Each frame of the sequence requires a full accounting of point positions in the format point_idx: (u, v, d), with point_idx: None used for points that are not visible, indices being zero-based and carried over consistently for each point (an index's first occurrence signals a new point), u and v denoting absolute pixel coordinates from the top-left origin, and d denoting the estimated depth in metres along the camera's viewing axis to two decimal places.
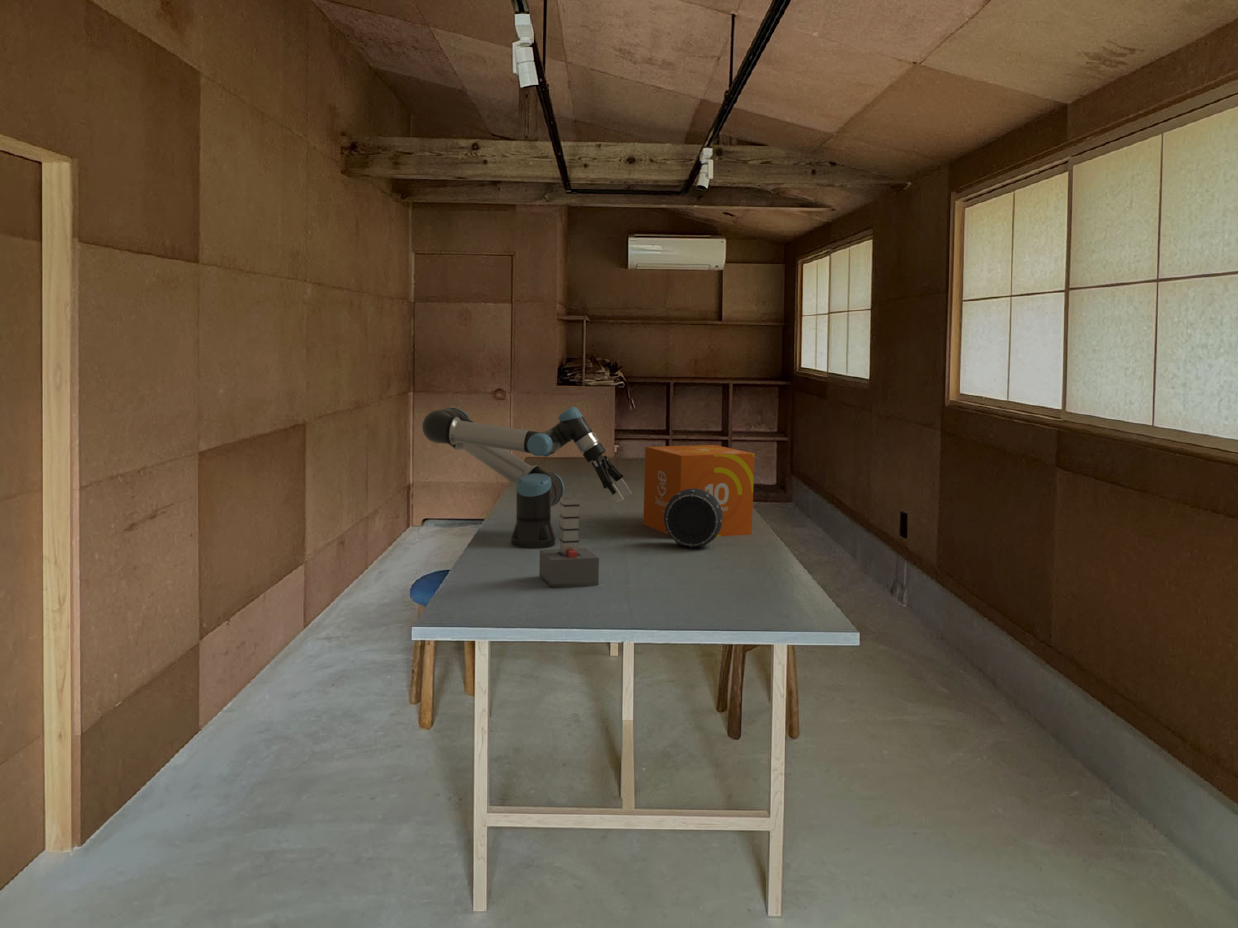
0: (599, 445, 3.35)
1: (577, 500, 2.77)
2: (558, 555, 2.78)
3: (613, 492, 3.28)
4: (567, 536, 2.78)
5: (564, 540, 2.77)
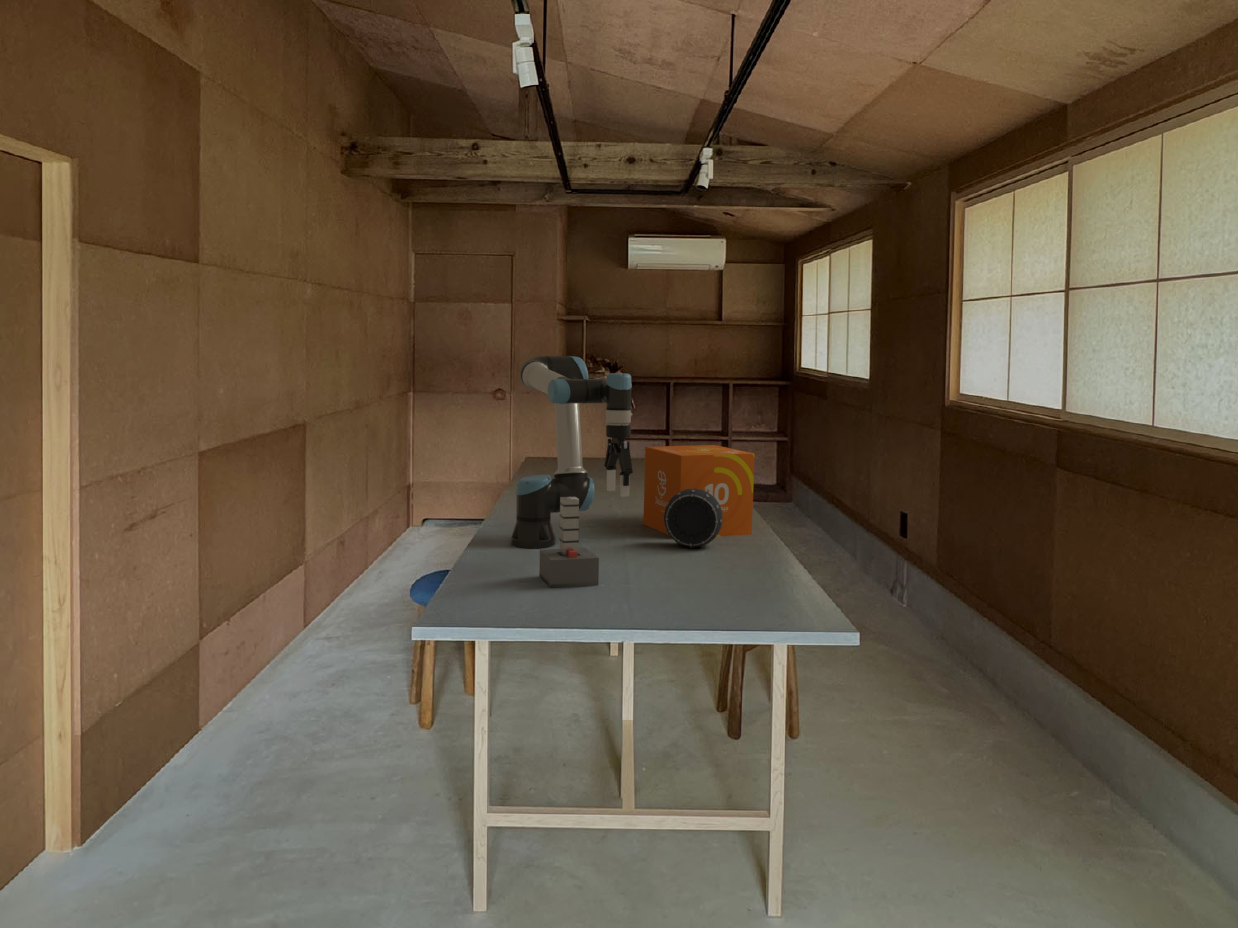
0: (630, 428, 2.94)
1: (577, 500, 2.77)
2: (558, 555, 2.78)
3: (626, 484, 2.88)
4: (567, 536, 2.78)
5: (564, 540, 2.77)
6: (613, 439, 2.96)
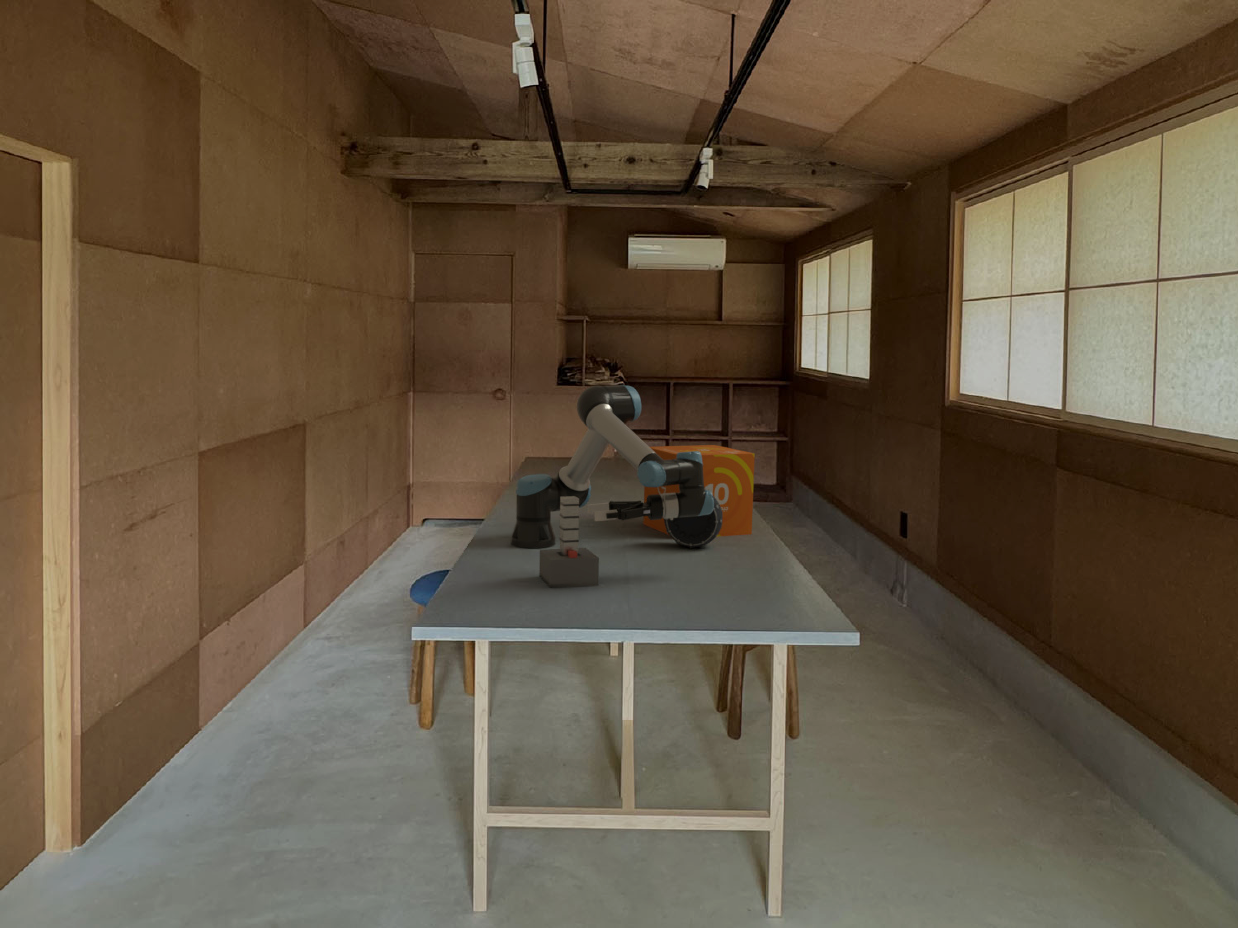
0: (659, 518, 2.86)
1: (577, 500, 2.77)
2: (558, 555, 2.78)
3: (608, 516, 2.77)
4: (567, 536, 2.77)
5: (564, 540, 2.77)
6: (644, 503, 2.88)
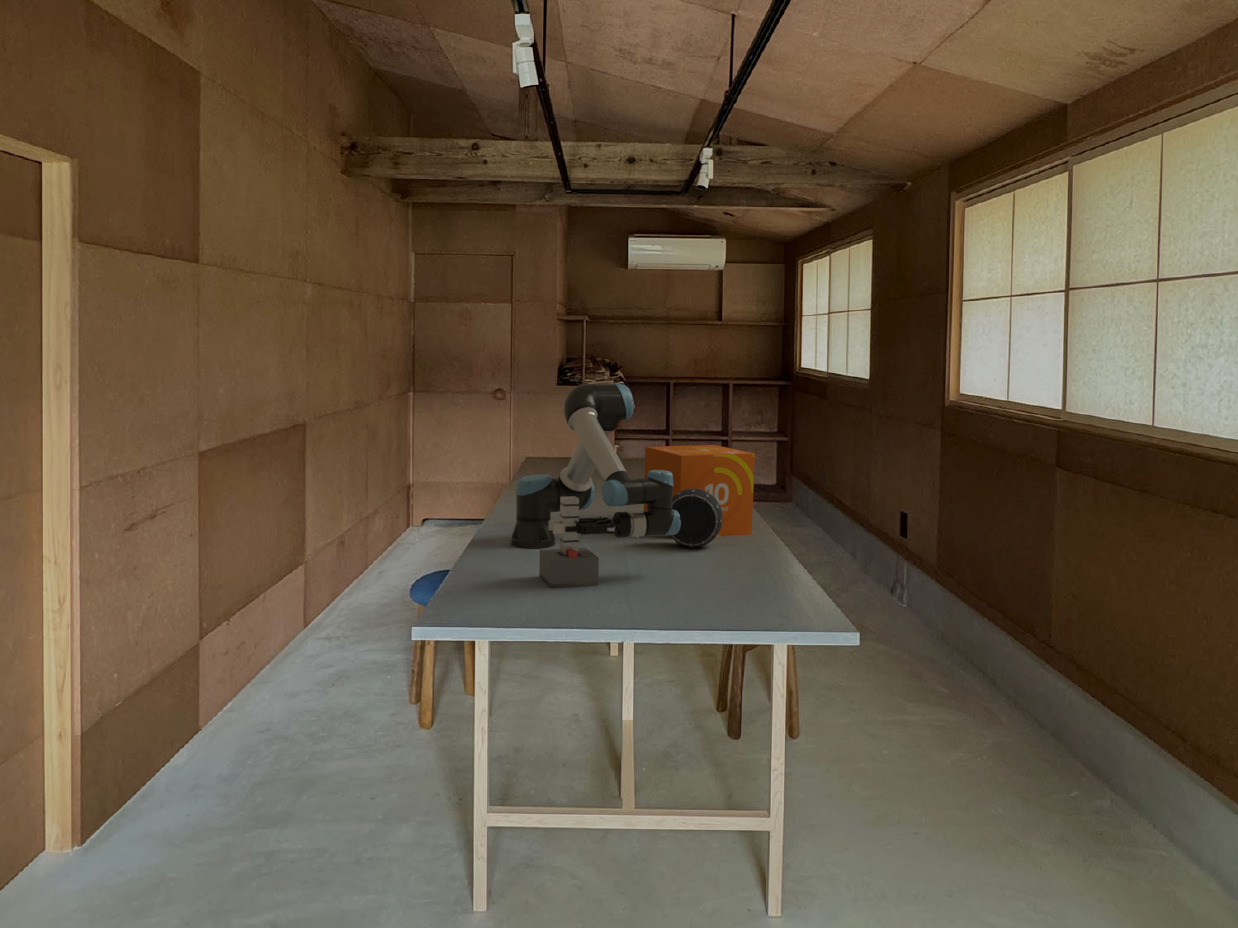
0: (626, 536, 2.84)
1: (577, 500, 2.77)
2: (558, 555, 2.78)
3: (567, 529, 2.75)
4: (567, 536, 2.78)
5: (564, 540, 2.77)
6: (611, 520, 2.85)
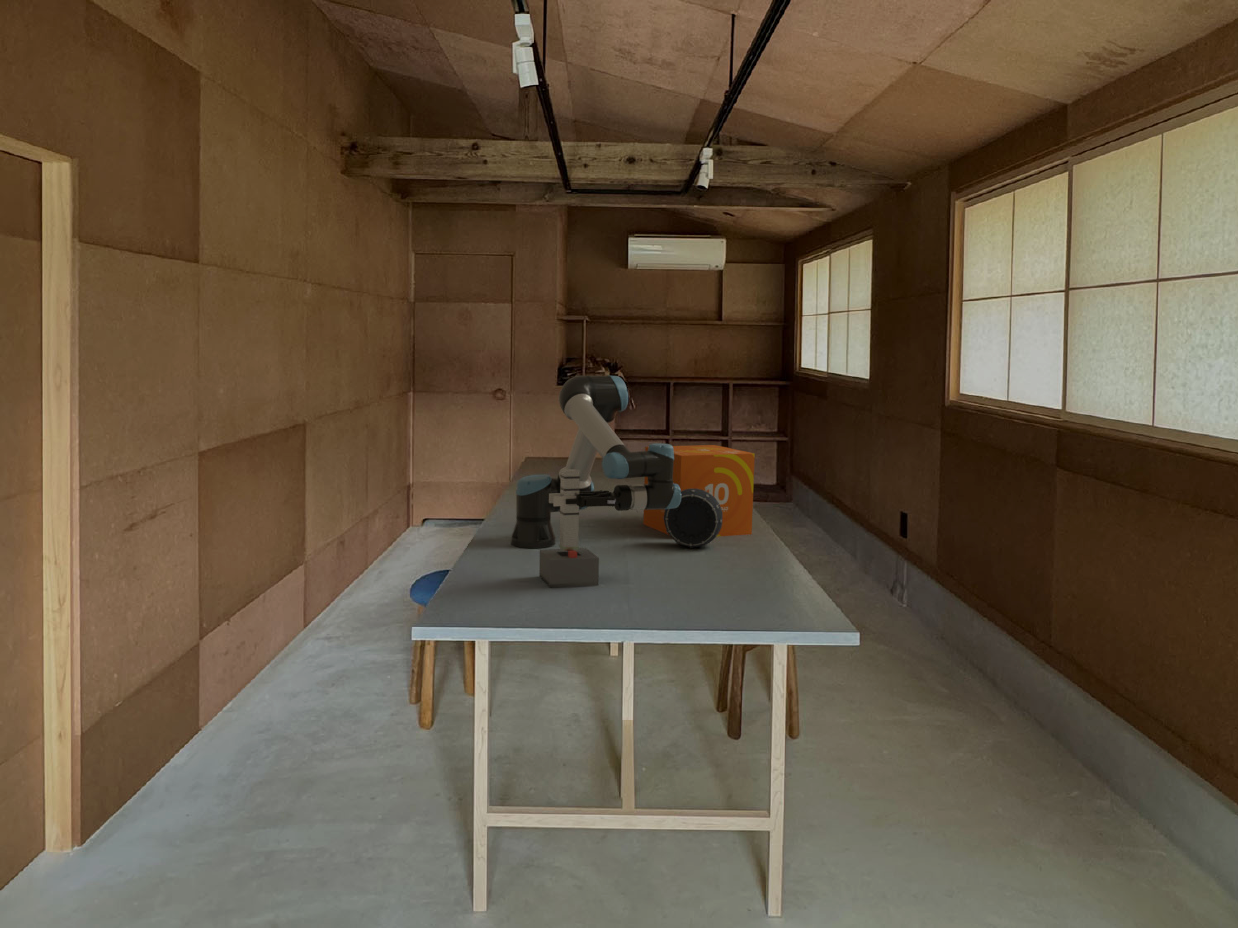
0: (626, 509, 2.83)
1: (577, 472, 2.76)
2: (558, 555, 2.78)
3: (568, 502, 2.74)
4: (567, 508, 2.77)
5: (564, 512, 2.76)
6: (612, 493, 2.84)
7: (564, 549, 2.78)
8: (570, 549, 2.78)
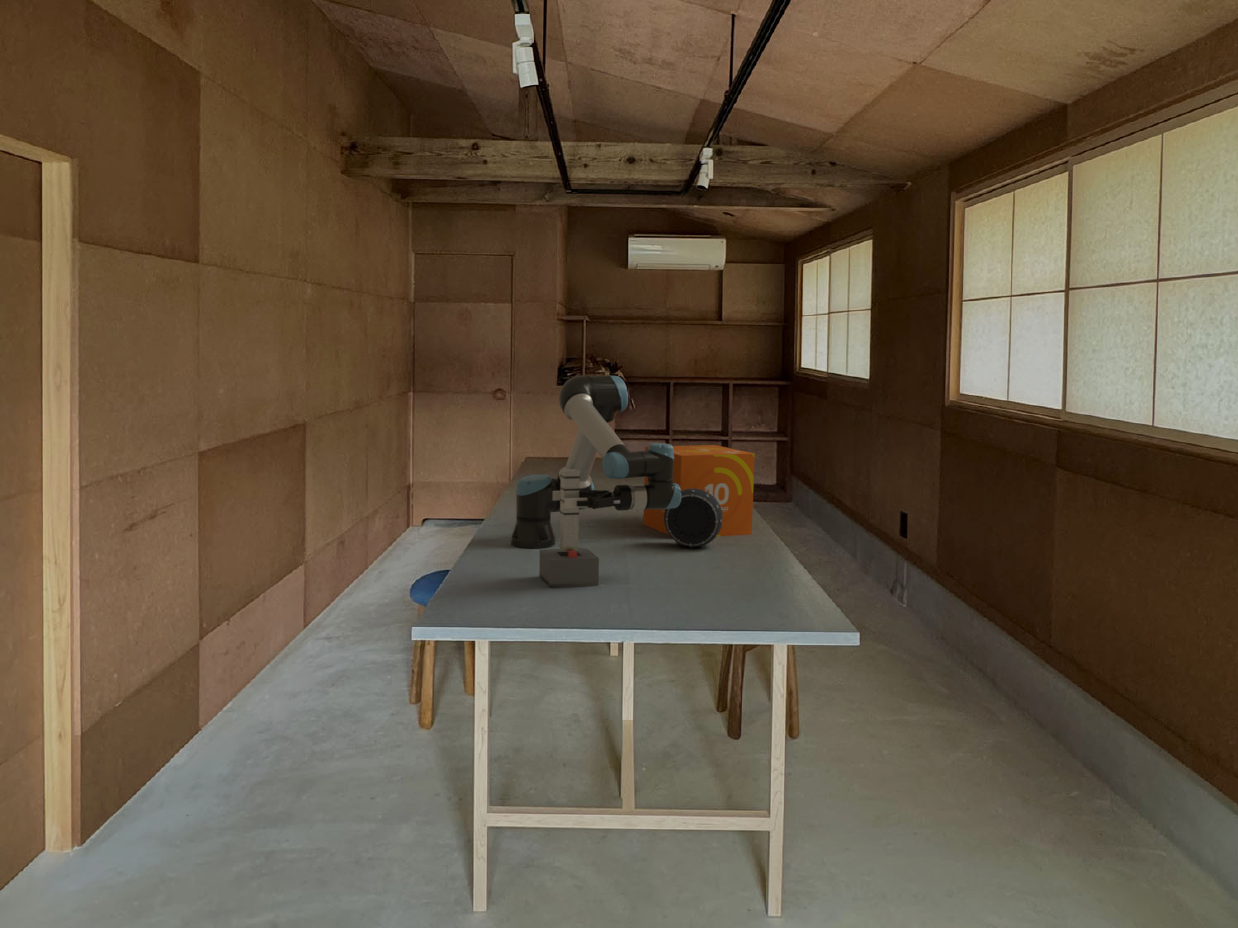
0: (626, 509, 2.83)
1: (577, 472, 2.76)
2: (558, 555, 2.78)
3: (579, 504, 2.71)
4: (567, 508, 2.77)
5: (564, 512, 2.76)
6: (612, 493, 2.84)
7: (564, 549, 2.78)
8: (570, 549, 2.78)
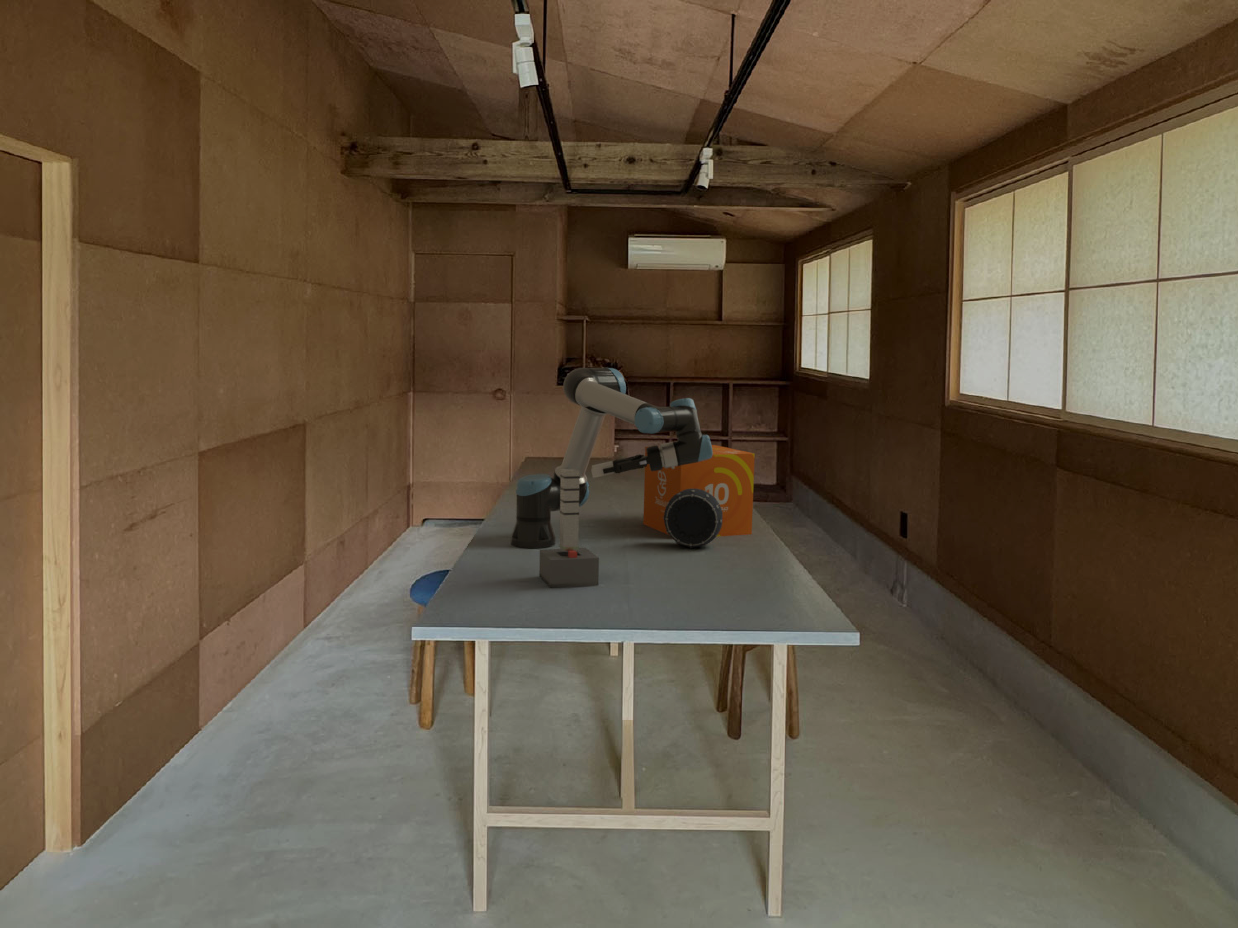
0: (659, 469, 2.91)
1: (577, 472, 2.76)
2: (558, 555, 2.78)
3: (604, 471, 2.84)
4: (567, 508, 2.77)
5: (564, 512, 2.76)
6: (644, 456, 2.94)
7: (564, 549, 2.78)
8: (570, 549, 2.78)
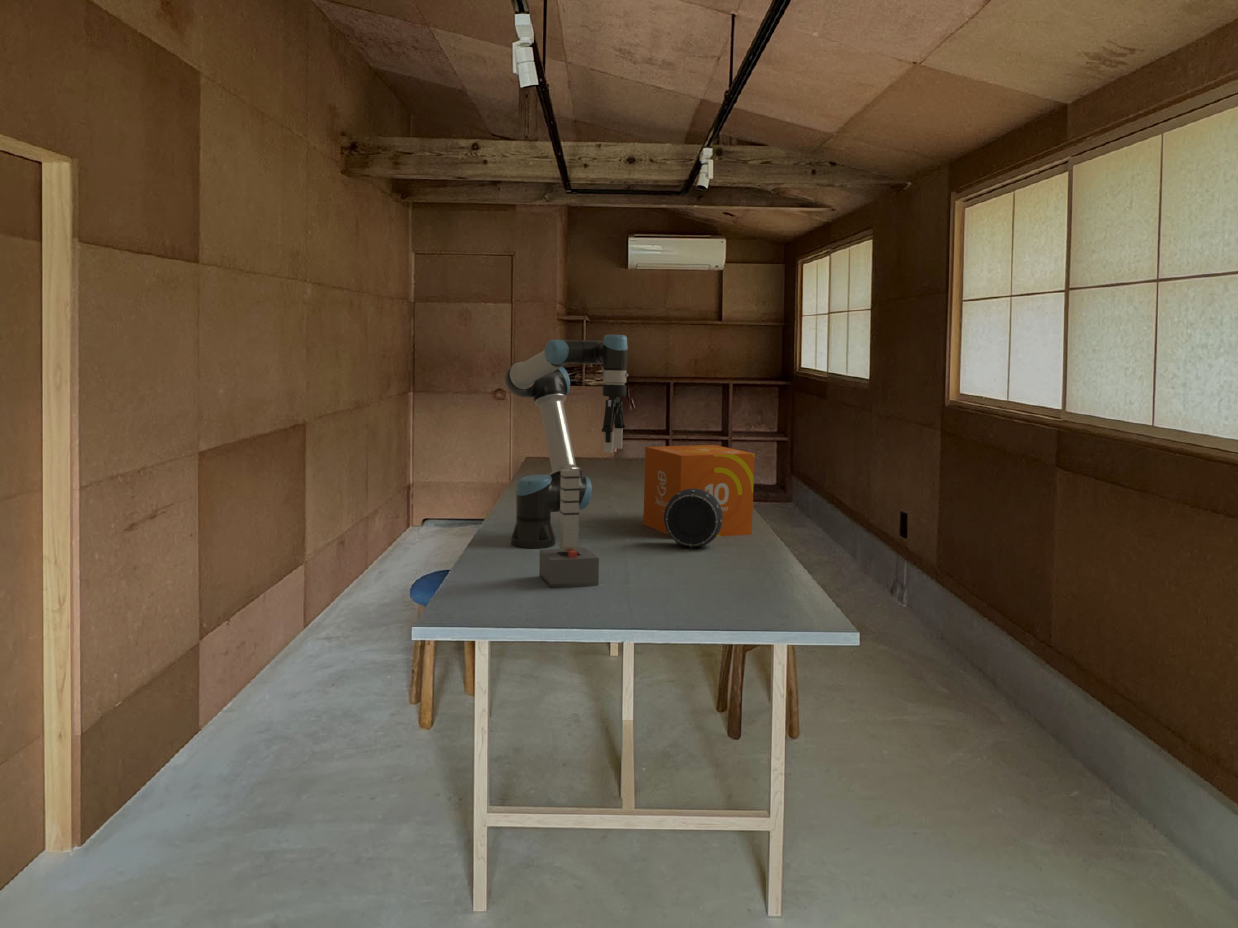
0: (624, 388, 3.05)
1: (577, 472, 2.76)
2: (558, 555, 2.78)
3: (608, 440, 3.01)
4: (567, 508, 2.77)
5: (564, 512, 2.76)
6: None
7: (564, 549, 2.78)
8: (570, 549, 2.78)
